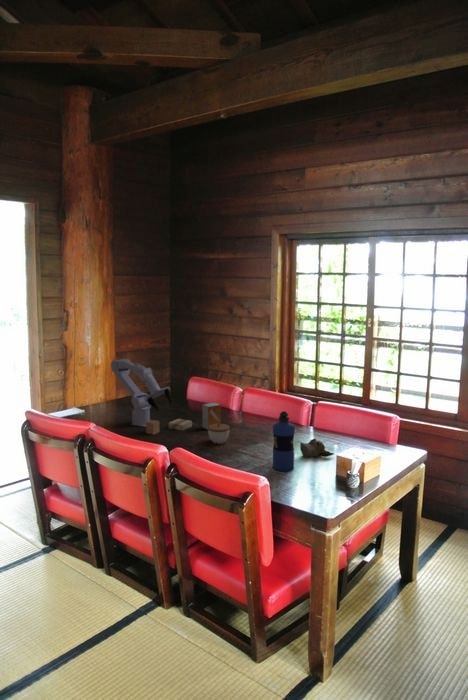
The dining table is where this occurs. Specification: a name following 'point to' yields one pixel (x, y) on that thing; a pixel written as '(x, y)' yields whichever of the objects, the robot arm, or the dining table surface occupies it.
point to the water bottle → (283, 444)
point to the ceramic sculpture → (314, 449)
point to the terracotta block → (152, 427)
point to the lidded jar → (218, 432)
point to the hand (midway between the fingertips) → (164, 406)
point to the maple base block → (180, 424)
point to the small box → (211, 414)
